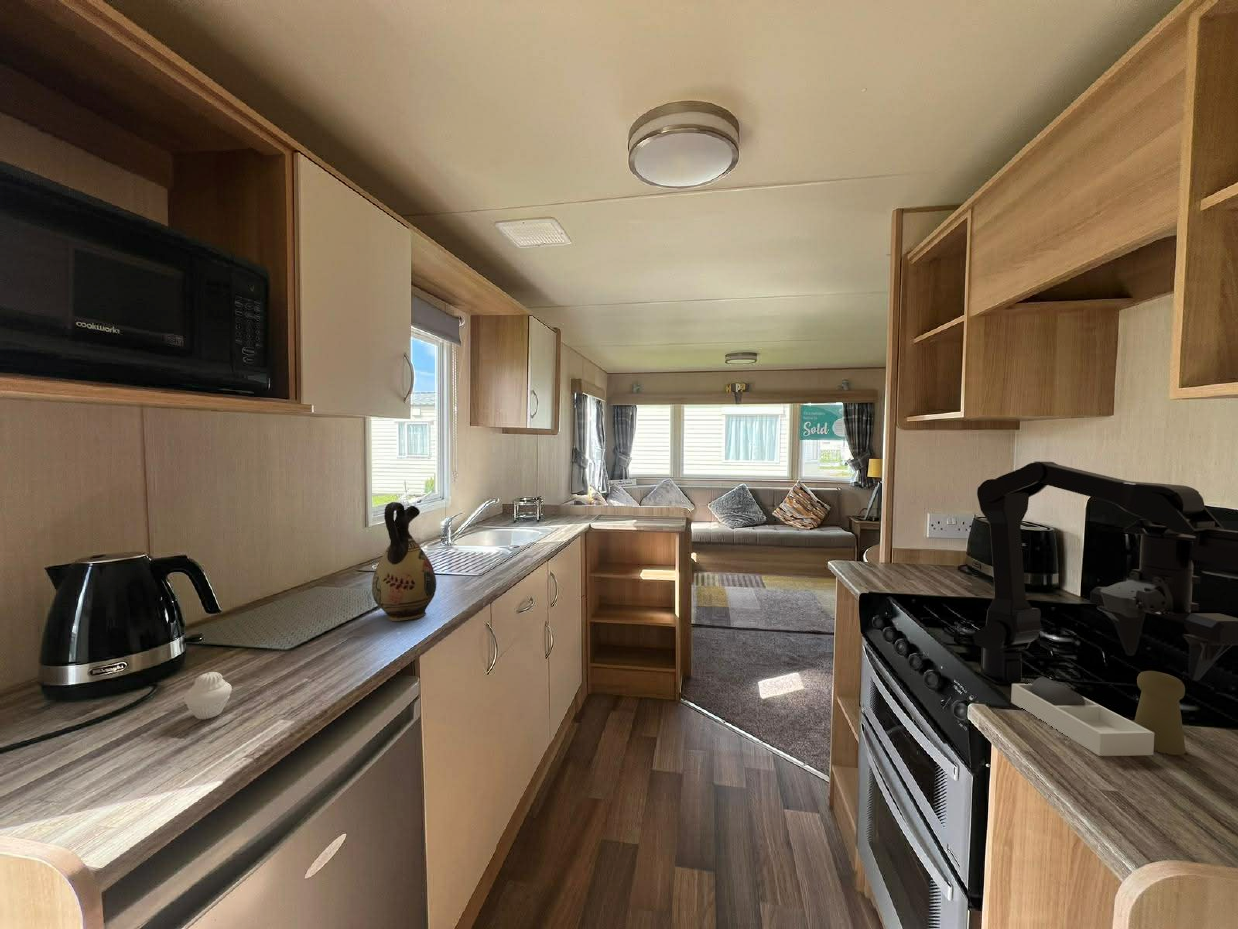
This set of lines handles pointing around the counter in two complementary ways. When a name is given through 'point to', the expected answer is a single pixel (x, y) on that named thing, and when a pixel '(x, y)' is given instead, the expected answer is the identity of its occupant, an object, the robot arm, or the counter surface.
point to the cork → (1161, 710)
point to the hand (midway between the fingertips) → (1160, 666)
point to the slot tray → (1088, 724)
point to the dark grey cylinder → (1055, 693)
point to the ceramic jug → (403, 569)
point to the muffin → (208, 695)
